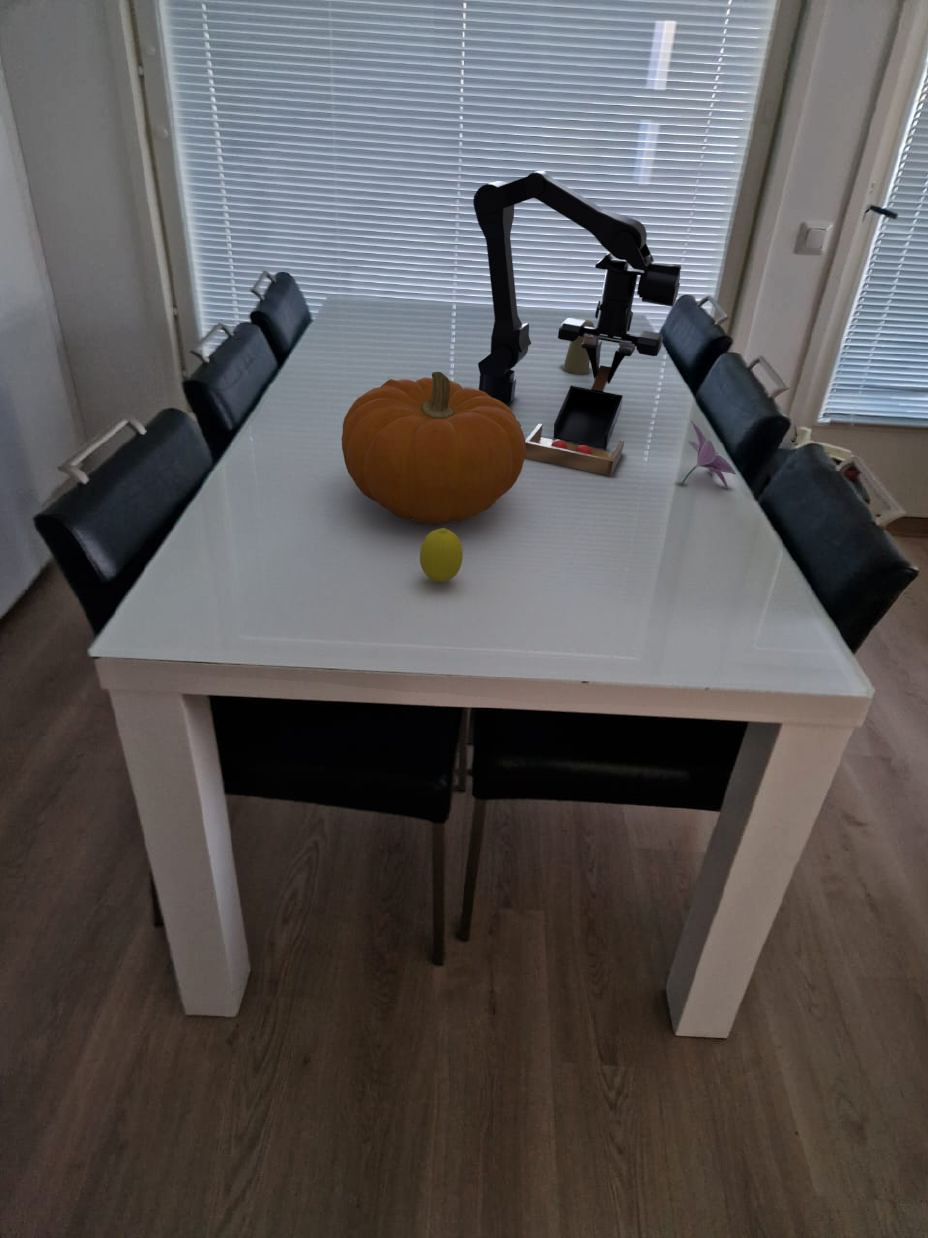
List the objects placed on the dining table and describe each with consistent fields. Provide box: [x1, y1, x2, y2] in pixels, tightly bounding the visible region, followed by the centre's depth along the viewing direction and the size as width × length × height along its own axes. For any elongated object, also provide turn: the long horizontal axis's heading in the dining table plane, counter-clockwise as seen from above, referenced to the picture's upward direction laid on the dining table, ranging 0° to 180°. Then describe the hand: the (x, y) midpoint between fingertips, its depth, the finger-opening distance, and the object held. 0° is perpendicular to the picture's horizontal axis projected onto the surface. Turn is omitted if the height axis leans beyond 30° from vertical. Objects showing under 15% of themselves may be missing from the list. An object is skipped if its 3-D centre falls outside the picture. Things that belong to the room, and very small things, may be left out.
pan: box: [552, 364, 624, 450], centre depth 155 cm, size 18×10×4 cm, turn 159°
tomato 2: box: [575, 444, 592, 455], centre depth 144 cm, size 3×3×3 cm
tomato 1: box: [551, 439, 568, 450], centre depth 145 cm, size 3×3×3 cm
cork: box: [562, 318, 595, 375], centre depth 186 cm, size 6×6×11 cm
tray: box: [525, 423, 625, 477], centre depth 147 cm, size 16×10×3 cm, turn 70°
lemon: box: [419, 527, 464, 584], centre depth 107 cm, size 6×6×8 cm
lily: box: [680, 420, 737, 490], centre depth 141 cm, size 12×12×10 cm
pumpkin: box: [341, 371, 526, 525], centre depth 123 cm, size 28×28×20 cm
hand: (602, 381), depth 159 cm, fingers closed on pan, 2 cm apart
